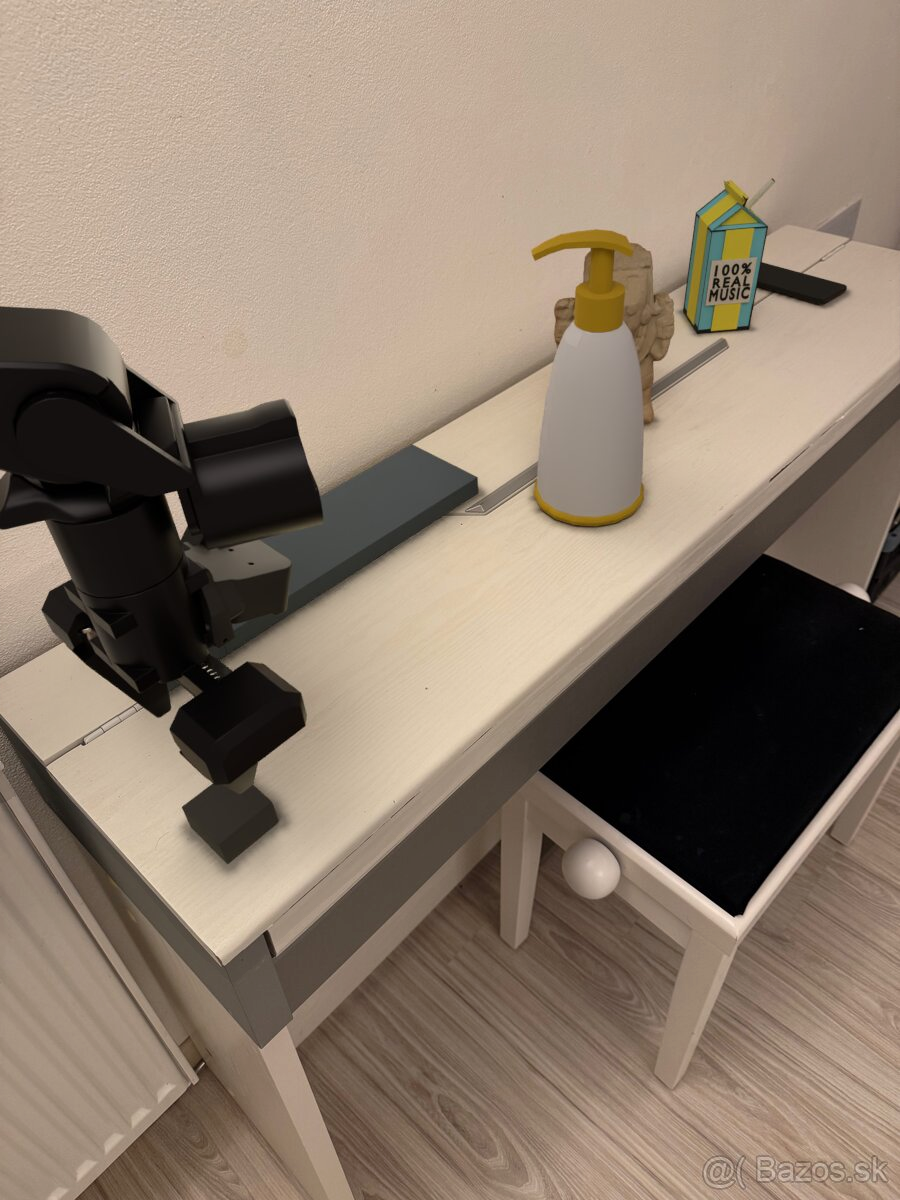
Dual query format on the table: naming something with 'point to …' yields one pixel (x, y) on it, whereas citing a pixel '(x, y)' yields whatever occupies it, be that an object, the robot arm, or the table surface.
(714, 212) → the carton
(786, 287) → the smartphone
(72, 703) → the table surface
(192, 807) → the black block
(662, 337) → the figurine
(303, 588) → the grey rectangular block
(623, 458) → the soap bottle
